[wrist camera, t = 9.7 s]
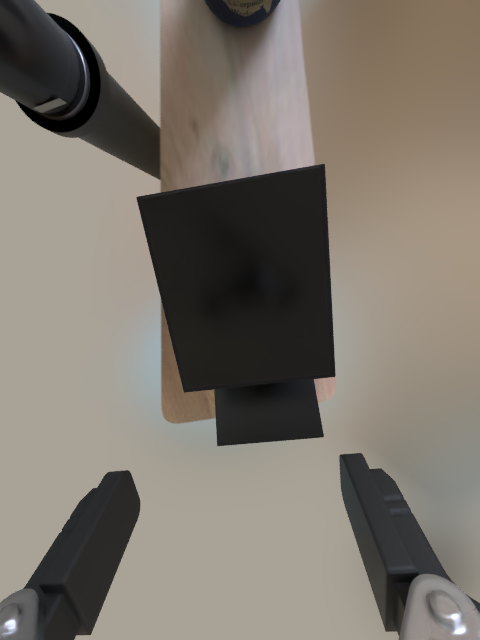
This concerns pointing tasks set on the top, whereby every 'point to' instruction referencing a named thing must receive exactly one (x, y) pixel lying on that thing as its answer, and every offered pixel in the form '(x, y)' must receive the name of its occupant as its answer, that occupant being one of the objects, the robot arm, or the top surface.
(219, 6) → the canister
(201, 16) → the top surface
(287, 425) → the oven door
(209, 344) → the oven
